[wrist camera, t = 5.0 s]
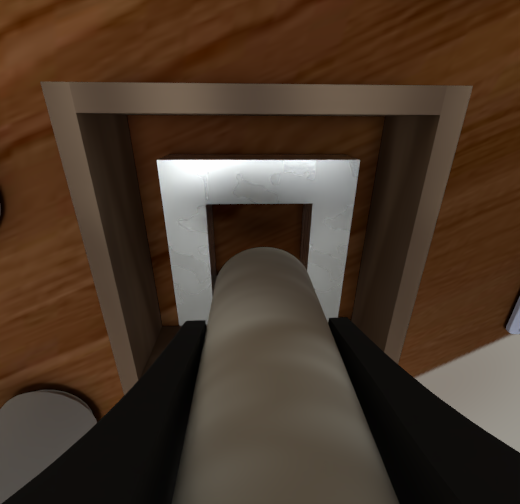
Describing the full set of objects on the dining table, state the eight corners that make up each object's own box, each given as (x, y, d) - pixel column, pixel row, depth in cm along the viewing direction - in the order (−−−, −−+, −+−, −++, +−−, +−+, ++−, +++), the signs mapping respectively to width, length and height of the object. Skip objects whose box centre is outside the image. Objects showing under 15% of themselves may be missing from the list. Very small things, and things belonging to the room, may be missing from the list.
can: (115, 400, 24) (6, 630, 13) (89, 450, 27) (-20, 678, 16) (19, 369, 22) (-196, 606, 12) (1, 427, 25) (-189, 664, 14)
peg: (318, 250, 11) (499, 581, 3) (302, 331, 13) (396, 688, 5) (216, 243, 11) (129, 586, 3) (213, 327, 13) (151, 697, 5)
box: (407, 95, 16) (472, 85, 11) (362, 332, 22) (391, 387, 18) (103, 93, 15) (40, 81, 10) (150, 337, 22) (124, 395, 17)
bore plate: (344, 154, 17) (360, 159, 14) (327, 300, 21) (337, 322, 19) (169, 154, 16) (156, 159, 14) (187, 303, 20) (179, 325, 18)
